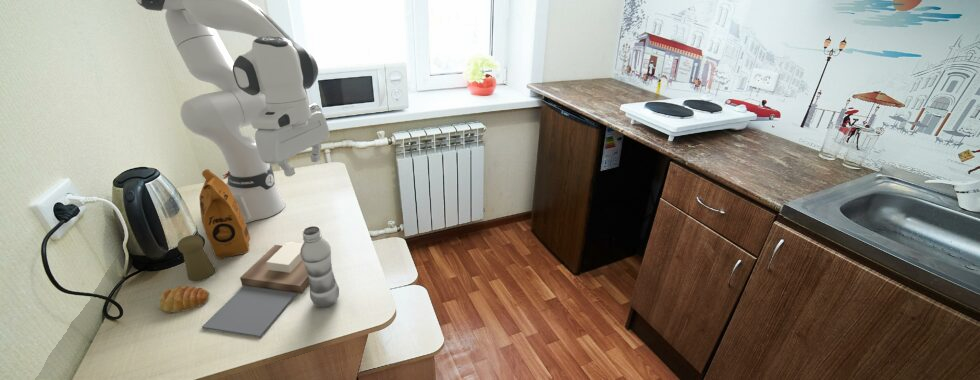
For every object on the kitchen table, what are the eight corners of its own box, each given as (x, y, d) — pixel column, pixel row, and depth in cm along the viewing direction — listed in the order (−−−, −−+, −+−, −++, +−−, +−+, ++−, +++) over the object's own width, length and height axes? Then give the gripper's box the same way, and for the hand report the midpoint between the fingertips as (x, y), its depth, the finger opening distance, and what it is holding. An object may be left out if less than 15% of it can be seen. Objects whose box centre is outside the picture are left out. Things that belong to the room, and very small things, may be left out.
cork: (202, 283, 103) (188, 247, 98) (182, 279, 104) (166, 244, 99) (221, 268, 108) (208, 233, 103) (201, 265, 110) (188, 230, 104)
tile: (268, 269, 104) (266, 261, 103) (289, 249, 112) (287, 241, 111) (290, 272, 104) (288, 264, 102) (310, 251, 111) (308, 243, 110)
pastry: (215, 290, 101) (210, 278, 100) (204, 310, 96) (199, 298, 94) (172, 295, 100) (166, 283, 98) (158, 316, 94) (152, 303, 92)
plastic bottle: (310, 313, 95) (293, 241, 86) (313, 293, 101) (296, 224, 91) (340, 308, 97) (326, 237, 87) (341, 289, 102) (327, 220, 93)
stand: (242, 285, 103) (239, 277, 102) (277, 252, 115) (275, 244, 114) (301, 293, 101) (299, 285, 99) (330, 258, 113) (329, 251, 112)
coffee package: (210, 263, 110) (183, 191, 100) (211, 239, 120) (187, 171, 109) (252, 253, 114) (230, 182, 104) (250, 231, 124) (230, 164, 114)
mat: (202, 328, 91) (201, 326, 90) (244, 287, 102) (244, 285, 102) (260, 337, 89) (260, 335, 88) (296, 294, 100) (296, 292, 100)
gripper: (308, 101, 105) (319, 153, 111) (244, 123, 87) (262, 183, 93) (329, 102, 103) (340, 154, 109) (268, 124, 86) (285, 185, 91)
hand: (303, 168), depth 101 cm, fingers open, 8 cm apart
